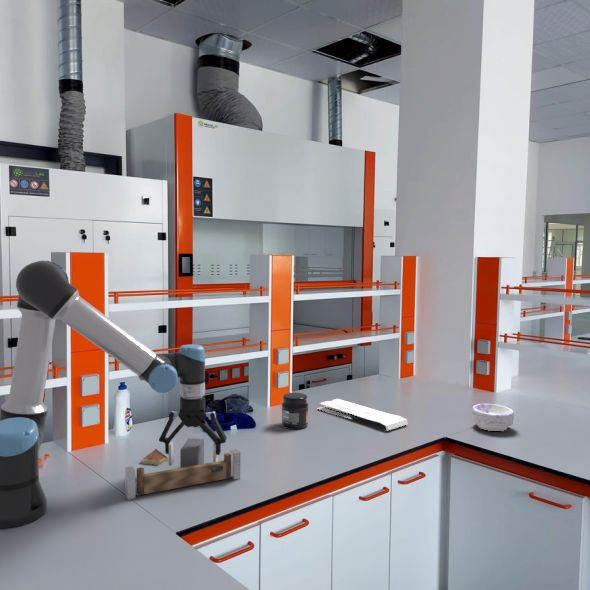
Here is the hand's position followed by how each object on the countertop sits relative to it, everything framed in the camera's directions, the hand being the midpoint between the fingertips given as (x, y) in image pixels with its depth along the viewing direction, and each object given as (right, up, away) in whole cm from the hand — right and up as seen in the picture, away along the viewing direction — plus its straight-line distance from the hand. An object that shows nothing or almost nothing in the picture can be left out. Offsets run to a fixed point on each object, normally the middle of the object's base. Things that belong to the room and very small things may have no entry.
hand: (193, 464), depth 168 cm
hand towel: (+58, +1, +59) cm, 83 cm away
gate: (0, -3, -10) cm, 11 cm away
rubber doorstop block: (0, -3, 0) cm, 3 cm away
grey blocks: (-1, -3, -10) cm, 11 cm away
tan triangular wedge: (-15, -2, +10) cm, 19 cm away
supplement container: (+31, 0, +47) cm, 56 cm away
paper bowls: (+108, -1, +47) cm, 118 cm away
